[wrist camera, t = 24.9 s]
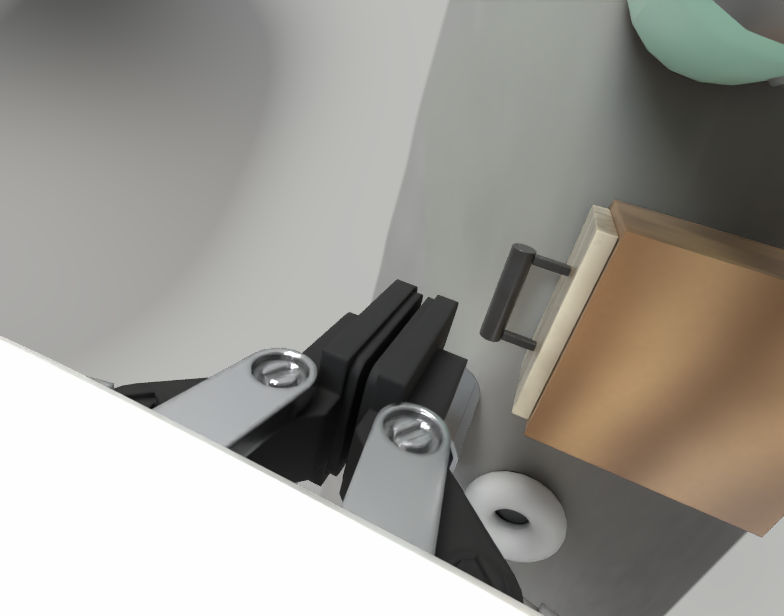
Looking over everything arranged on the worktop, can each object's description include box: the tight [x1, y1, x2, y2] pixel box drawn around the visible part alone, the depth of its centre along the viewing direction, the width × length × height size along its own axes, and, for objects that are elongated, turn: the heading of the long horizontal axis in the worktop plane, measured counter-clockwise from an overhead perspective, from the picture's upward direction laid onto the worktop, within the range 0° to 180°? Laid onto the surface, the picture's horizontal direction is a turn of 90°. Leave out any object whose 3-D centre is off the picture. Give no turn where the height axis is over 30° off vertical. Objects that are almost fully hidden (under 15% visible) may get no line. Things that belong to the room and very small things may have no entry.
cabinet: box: [524, 199, 784, 537], centre depth 29 cm, size 15×15×10 cm
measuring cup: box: [444, 368, 479, 473], centre depth 38 cm, size 6×6×9 cm
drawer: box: [480, 205, 619, 420], centre depth 30 cm, size 18×13×8 cm
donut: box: [464, 471, 567, 562], centre depth 43 cm, size 10×4×10 cm
